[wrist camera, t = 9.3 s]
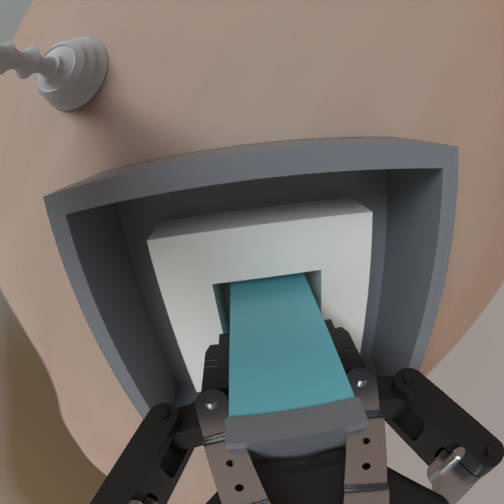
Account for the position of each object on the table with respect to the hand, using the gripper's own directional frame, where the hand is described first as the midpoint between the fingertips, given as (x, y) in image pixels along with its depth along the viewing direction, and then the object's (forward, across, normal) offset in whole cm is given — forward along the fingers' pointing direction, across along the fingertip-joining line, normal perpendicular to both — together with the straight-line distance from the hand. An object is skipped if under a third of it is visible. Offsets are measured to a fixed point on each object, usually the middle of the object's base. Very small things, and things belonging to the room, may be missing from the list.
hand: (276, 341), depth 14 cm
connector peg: (+3, 0, 0) cm, 3 cm away
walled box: (+5, 0, 0) cm, 5 cm away
